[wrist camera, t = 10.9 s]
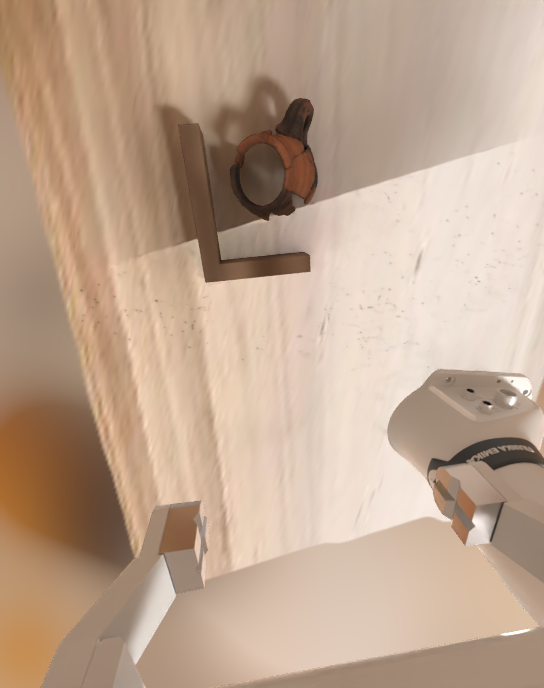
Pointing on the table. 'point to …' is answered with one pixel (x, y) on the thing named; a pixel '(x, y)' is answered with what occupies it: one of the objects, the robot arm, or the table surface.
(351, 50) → the table surface
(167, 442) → the table surface
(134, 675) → the robot arm
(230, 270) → the dock
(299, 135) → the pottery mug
